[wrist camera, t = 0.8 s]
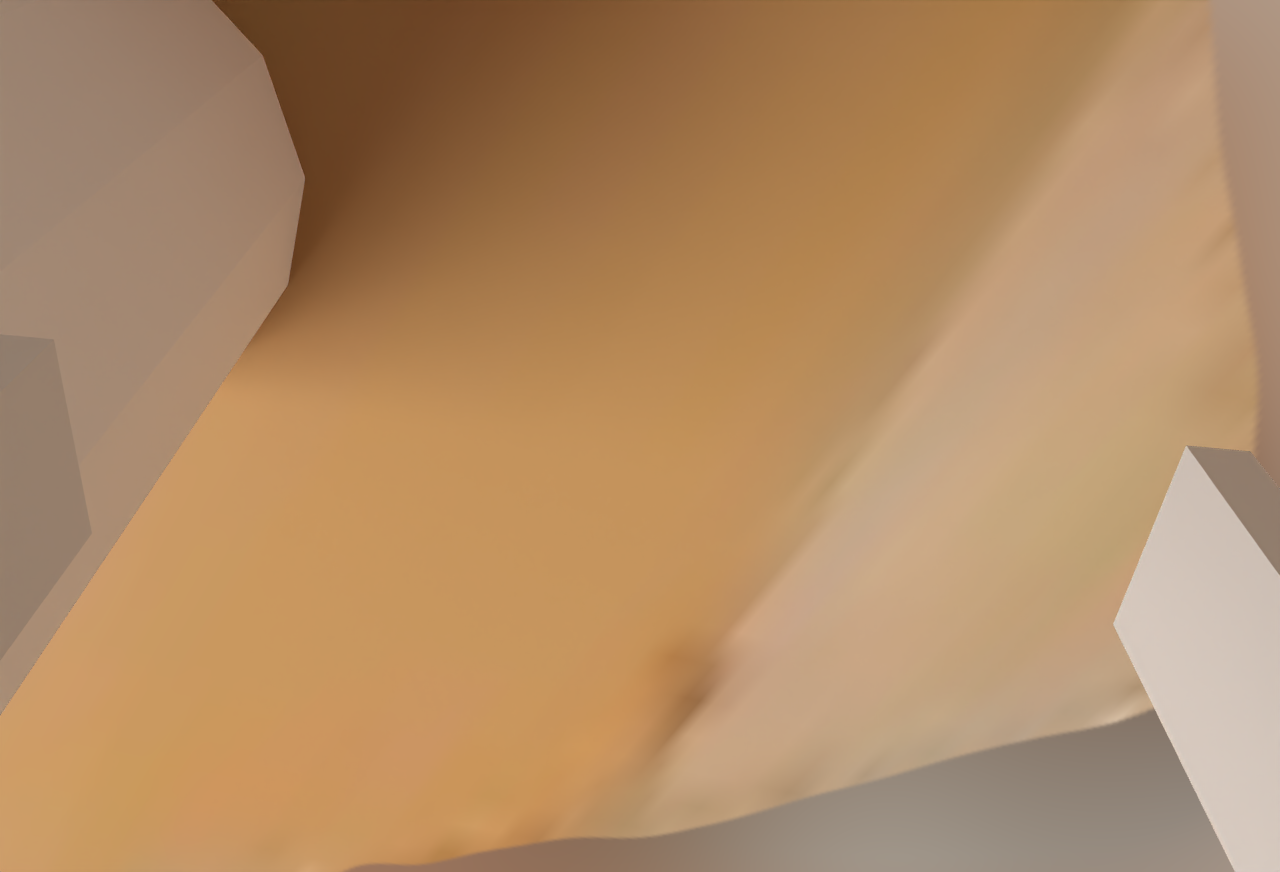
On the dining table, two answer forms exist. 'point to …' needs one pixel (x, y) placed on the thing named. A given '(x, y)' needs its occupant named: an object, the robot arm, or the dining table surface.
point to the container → (135, 236)
